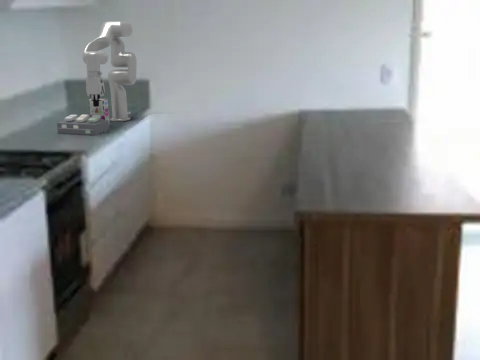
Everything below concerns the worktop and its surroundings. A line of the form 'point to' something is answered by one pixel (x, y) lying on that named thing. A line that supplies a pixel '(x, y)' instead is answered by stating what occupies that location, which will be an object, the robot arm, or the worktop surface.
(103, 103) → the candy bar box
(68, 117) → the rocker grey
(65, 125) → the console
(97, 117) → the rocker sage
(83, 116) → the rocker ivory
